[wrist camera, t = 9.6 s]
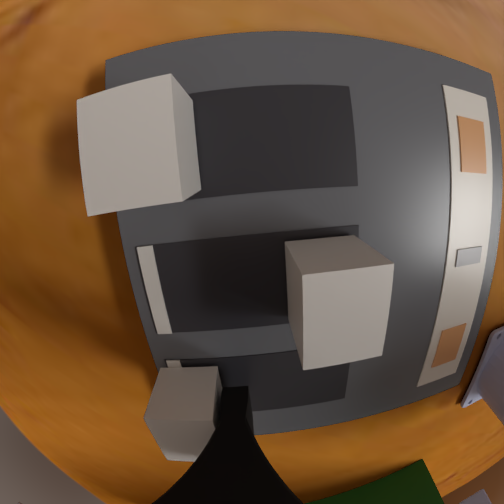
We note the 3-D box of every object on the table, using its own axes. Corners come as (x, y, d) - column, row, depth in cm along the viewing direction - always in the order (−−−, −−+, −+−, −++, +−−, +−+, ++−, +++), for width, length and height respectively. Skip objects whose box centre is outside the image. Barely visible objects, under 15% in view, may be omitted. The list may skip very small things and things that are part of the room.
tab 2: (217, 366, 11) (212, 420, 8) (227, 411, 12) (226, 461, 9) (160, 367, 11) (143, 418, 8) (177, 412, 12) (167, 459, 9)
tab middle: (354, 235, 10) (394, 263, 7) (351, 309, 11) (381, 355, 8) (284, 241, 10) (302, 274, 7) (288, 318, 10) (302, 370, 8)
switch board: (467, 79, 10) (492, 73, 7) (444, 367, 15) (459, 385, 13) (125, 73, 9) (104, 59, 7) (188, 411, 15) (184, 438, 13)
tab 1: (192, 100, 8) (170, 73, 5) (201, 189, 9) (182, 201, 6) (121, 115, 8) (76, 99, 5) (130, 199, 9) (87, 216, 6)
